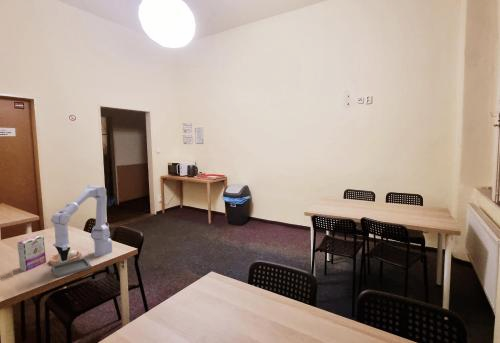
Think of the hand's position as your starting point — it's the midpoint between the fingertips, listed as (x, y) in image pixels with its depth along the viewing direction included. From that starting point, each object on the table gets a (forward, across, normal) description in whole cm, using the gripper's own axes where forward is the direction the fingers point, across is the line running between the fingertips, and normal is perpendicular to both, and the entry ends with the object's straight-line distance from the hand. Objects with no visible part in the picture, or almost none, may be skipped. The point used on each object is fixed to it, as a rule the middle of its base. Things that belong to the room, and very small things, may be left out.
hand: (63, 259), depth 142 cm
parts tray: (+7, 0, +3) cm, 8 cm away
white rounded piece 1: (+1, 0, 0) cm, 1 cm away
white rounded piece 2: (+6, -16, +6) cm, 18 cm away
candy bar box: (+7, -18, -12) cm, 23 cm away
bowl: (+7, -16, +3) cm, 17 cm away
